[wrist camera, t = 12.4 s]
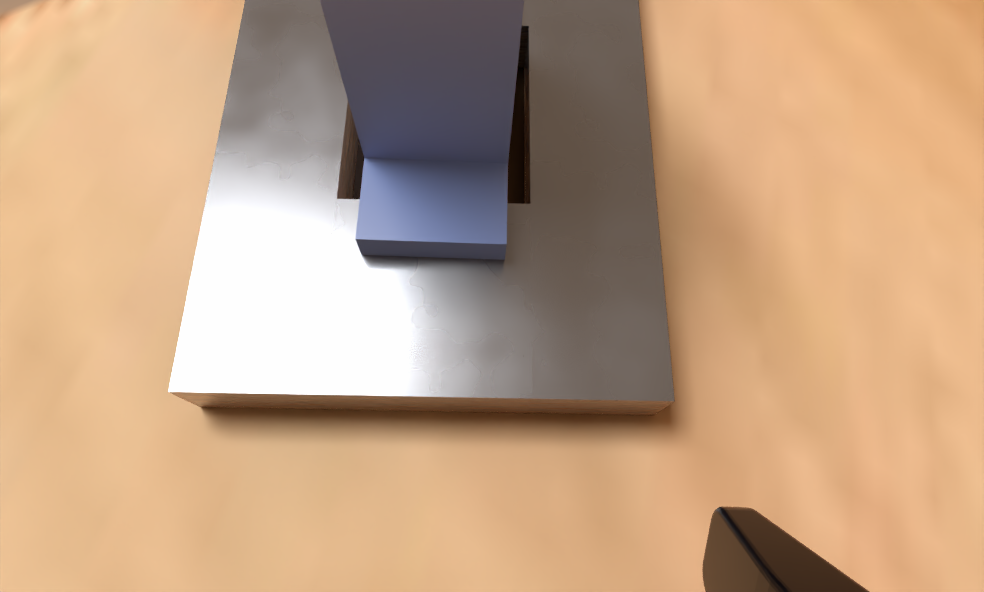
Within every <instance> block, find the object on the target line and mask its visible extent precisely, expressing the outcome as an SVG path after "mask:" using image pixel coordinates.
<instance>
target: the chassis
mask: <svg viewBox="0 0 984 592" xmlns="http://www.w3.org/2000/svg"><path fill="white" fill-rule="evenodd" d="M517 68H524V152H525V204H516V203H507V245H506V254H505V260H497V259H468V258H438V257H409V256H380V255H361V253H360V250H359V247H358V245H357V242H356V240H355V237H356V228H357V219H358V210H359V201H360V199H352V197H353V187H354V178H355V168H356V159H357V149H358V139H359V137H358V134H357V130H356V127H355V123H354V120H353V116H352V112H351V109H350V105H349V102H348V98H347V95H346V91H345V88H344V84H343V81H342V77H341V73H340V70H339V66H338V63H337V59H336V56H335V52H334V49H333V45H332V41H331V38H330V34H329V31H328V27H327V24H326V20H325V17H324V13H323V10H322V6H321V2H320V0H245V4H244V9H243V14H242V20H241V25H240V30H239V35H238V40H237V45H236V50H235V55H234V60H233V65H232V70H231V75H230V80H229V86H228V91H227V96H226V101H225V106H224V111H223V116H222V121H221V126H220V131H219V136H218V141H217V146H216V152H215V157H214V162H213V167H212V172H211V177H210V182H209V187H208V192H207V197H206V202H205V207H204V212H203V218H202V223H201V228H200V233H199V238H198V243H197V248H196V253H195V258H194V263H193V268H192V273H191V278H190V284H189V289H188V294H187V299H186V304H185V309H184V314H183V319H182V324H181V329H180V334H179V339H178V344H177V350H176V355H175V360H174V365H173V370H172V375H171V380H170V385H169V390H168V392H170V393H172V394H174V395H176V396H178V397H180V398H182V399H184V400H186V401H189V402H191V403H193V404H195V405H197V406H199V407H237V408H291V409H345V410H400V411H454V412H508V413H562V414H616V415H655V414H656V413H658V412H659V411H661V410H662V409H664V408H665V407H667V406H668V405H670V404H671V403H673V402H674V401H675V400H674V389H673V378H672V367H671V356H670V345H669V334H668V323H667V312H666V301H665V290H664V278H663V267H662V256H661V245H660V234H659V223H658V212H657V201H656V190H655V179H654V168H653V157H652V146H651V135H650V123H649V112H648V101H647V90H646V79H645V68H644V57H643V46H642V35H641V24H640V13H639V2H638V0H524V6H523V16H522V27H521V37H520V47H519V57H518V67H517Z"/></svg>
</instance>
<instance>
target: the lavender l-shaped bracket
mask: <svg viewBox="0 0 984 592" xmlns="http://www.w3.org/2000/svg"><path fill="white" fill-rule="evenodd" d="M320 2H321V6H322V10H323V13H324V17H325V20H326V24H327V27H328V31H329V34H330V38H331V41H332V45H333V49H334V52H335V56H336V59H337V63H338V66H339V70H340V73H341V77H342V81H343V84H344V88H345V91H346V95H347V98H348V102H349V105H350V109H351V112H352V116H353V120H354V123H355V127H356V130H357V134H358V137H359V141H360V144H361V148H362V152H363V155H364V165H363V174H362V183H361V192H360V201H359V210H358V219H357V228H356V237H355V240H356V242H357V245H358V247H359V250H360V253H361V255H380V256H409V257H438V258H468V259H497V260H505V254H506V245H507V194H508V158H509V148H510V138H511V128H512V118H513V108H514V98H515V87H516V77H517V67H518V57H519V47H520V37H521V27H522V16H523V6H524V0H320Z"/></svg>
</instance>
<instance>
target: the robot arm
mask: <svg viewBox="0 0 984 592" xmlns="http://www.w3.org/2000/svg"><path fill="white" fill-rule="evenodd" d="M703 581H704V587H705V591H706V592H869V591H868V590H866V589H865V588H864V587H862V586H861V585H859V584H858V583H857V582H855V581H854V580H852V579H851V578H850V577H848V576H847V575H845V574H844V573H843V572H841V571H840V570H838V569H837V568H836V567H834V566H833V565H831V564H830V563H829V562H827V561H826V560H824V559H823V558H821V557H820V556H819V555H817V554H816V553H814V552H813V551H812V550H810V549H809V548H807V547H806V546H805V545H803V544H802V543H800V542H799V541H798V540H796V539H795V538H793V537H792V536H791V535H789V534H788V533H786V532H785V531H784V530H782V529H781V528H779V527H778V526H777V525H775V524H774V523H772V522H771V521H770V520H768V519H767V518H765V517H764V516H763V515H761V514H760V513H758V512H757V511H755V510H754V509H751V508H744V507H719V508H717V509H716V510H715V511H714V513H713V515H712V519H711V523H710V529H709V534H708V539H707V544H706V550H705V555H704V560H703Z"/></svg>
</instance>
